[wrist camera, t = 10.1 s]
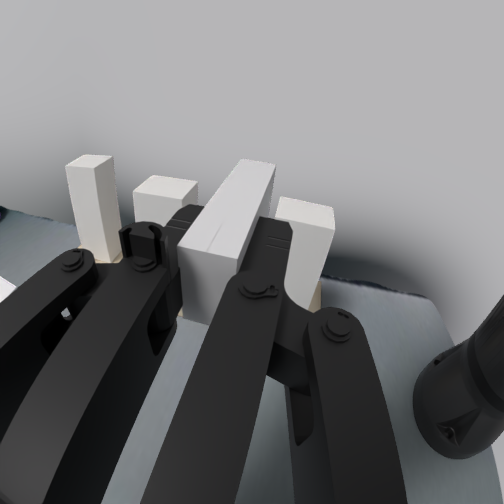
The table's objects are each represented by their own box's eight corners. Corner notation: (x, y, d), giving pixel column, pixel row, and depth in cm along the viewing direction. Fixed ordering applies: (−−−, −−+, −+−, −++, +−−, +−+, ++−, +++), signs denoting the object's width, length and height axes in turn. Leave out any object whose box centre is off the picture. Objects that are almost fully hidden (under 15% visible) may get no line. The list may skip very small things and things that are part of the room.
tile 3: (125, 245, 40) (114, 155, 32) (110, 263, 37) (93, 168, 28) (99, 239, 41) (85, 153, 32) (84, 255, 37) (65, 165, 29)
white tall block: (197, 285, 36) (198, 180, 27) (186, 309, 33) (181, 199, 24) (161, 276, 36) (153, 173, 28) (147, 298, 33) (132, 191, 24)
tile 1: (301, 307, 35) (332, 206, 26) (298, 335, 31) (335, 229, 23) (260, 299, 35) (280, 195, 27) (254, 326, 32) (275, 216, 23)
